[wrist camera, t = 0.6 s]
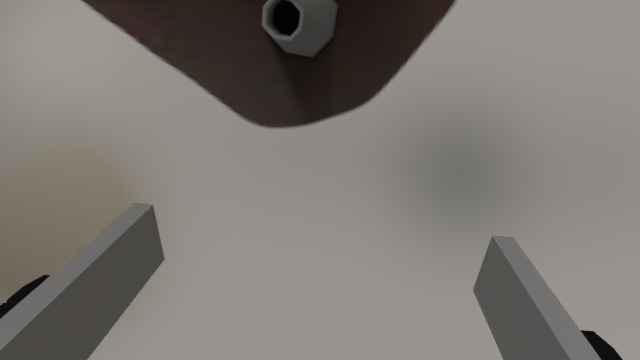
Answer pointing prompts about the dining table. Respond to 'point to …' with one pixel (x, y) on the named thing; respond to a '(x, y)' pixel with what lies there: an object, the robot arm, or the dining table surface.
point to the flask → (300, 24)
